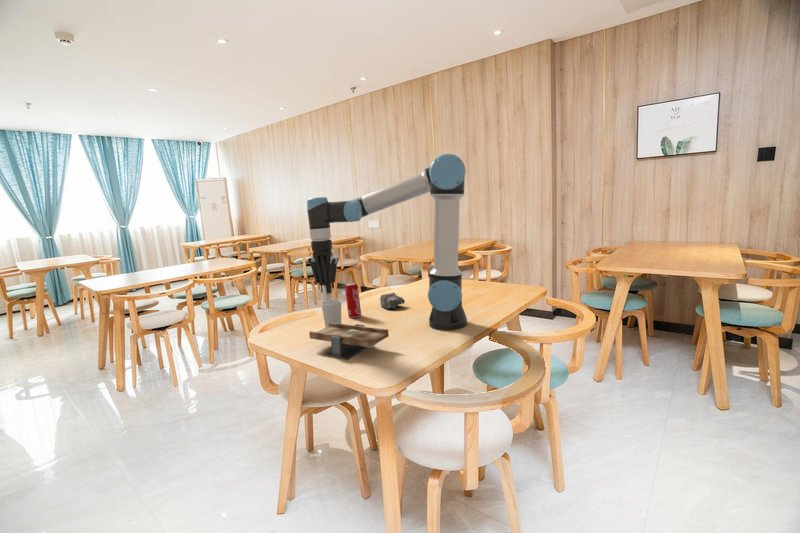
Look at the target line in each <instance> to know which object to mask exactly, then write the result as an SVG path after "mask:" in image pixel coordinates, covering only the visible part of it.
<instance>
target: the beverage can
mask: <svg viewBox="0 0 800 533" xmlns="http://www.w3.org/2000/svg"><path fill="white" fill-rule="evenodd" d="M344 291H345V299H346V308H347V316H348V318H351V319H355V318H359V317H361V316H362V310H361V301H360V293H359V286H358V283H357V282H351V283H346V284H345V285H344Z"/></svg>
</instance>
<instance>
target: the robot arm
mask: <svg viewBox="0 0 800 533" xmlns="http://www.w3.org/2000/svg"><path fill="white" fill-rule="evenodd" d="M465 177H466V166H465V162H464V161H463V160H462V159H461V157H459V156H457V155H456V154H453V153H443V154H441V155H438V156H437V157H436V158H434V159H433V161H432V162H431V164H430V166H429V167H427V168H424V169H423V171H422V173H418V174H416V175H414V176H411V177H409V178H405V179H403V180H401V181H398V182H396V183H394V184H393V183H392V184H390V185H389V186H385V187H383V188H381V189H378V190H376V191H372V192H371V193H368V194H365V195H363V196H360V197H357V198H354V199H352V200H341V201H329V200H328V198H327V197H326V196H323V197H320V196H319V197H310V198H308V199H307V201H306V203H307V204H306V207H307V210H306V212H307V217H308V218H307V219H308V224H309V225H308V226H309V238H310V240H311V242H310V246H311V251H312V255H311V257H309V258H308V259H307V261H308V263H309V264H310V267H311V270H312V274H313V278H314V281H315V283H316V284H319V285H320V292H321V294H322V299H323V301H322V302H329V301H331V300H332V297H331V296H332V295H331V293H332V284H334V283H336V277H337V276H336V274H337V268H338V267H337V266H338V262H339V257H335V256H334V254H333V252H332V249H333V243H332V239H331V238H332V235H331V234H332V233H331V224H334V223H353V222H359V221H361V220H362V218H364V217H367V216H369V215H372V214H375V213H377V212H379V211H382V210H385V209H387V208H390V207H393V206H395V205H398V204H401V203H404V202H406V201H409V200H412V199H414V198H416V197H417V198H418V197H420V196H423V195H424V194H428V193H430V194H429V195H430V196H431V197H432V198H433V200H434V211H433V212H434V214H433V215H434V218H433V219H434V220H433V221H434V222H433V223H434V224H433V226H434V227H433V228H434V229H433V266H432V268H431V269H430V271H429V274H428V276H429V278H428V279H429V280H428V281H429V282H428V292H427V299H428V301H429V303H430V305H431V311H430V314H429V317H428V324H429V327H431V328H432V329H435V330H439V331H453V330H454V331H455V330H460V329H463V328H465V327H467V326H468V318H467V315H466V313H465V310H464V306H463V301H462V300H463V293H462V288H463V287H462V286H463V285H462V284H463V281H462V280H463V278H462V277H463V272H462V271H461V269H460V268H459V239H460V237H459V236H460V234H459V232H460V230H459V228H460V200H461V199H462V198H463V196H465Z"/></svg>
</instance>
